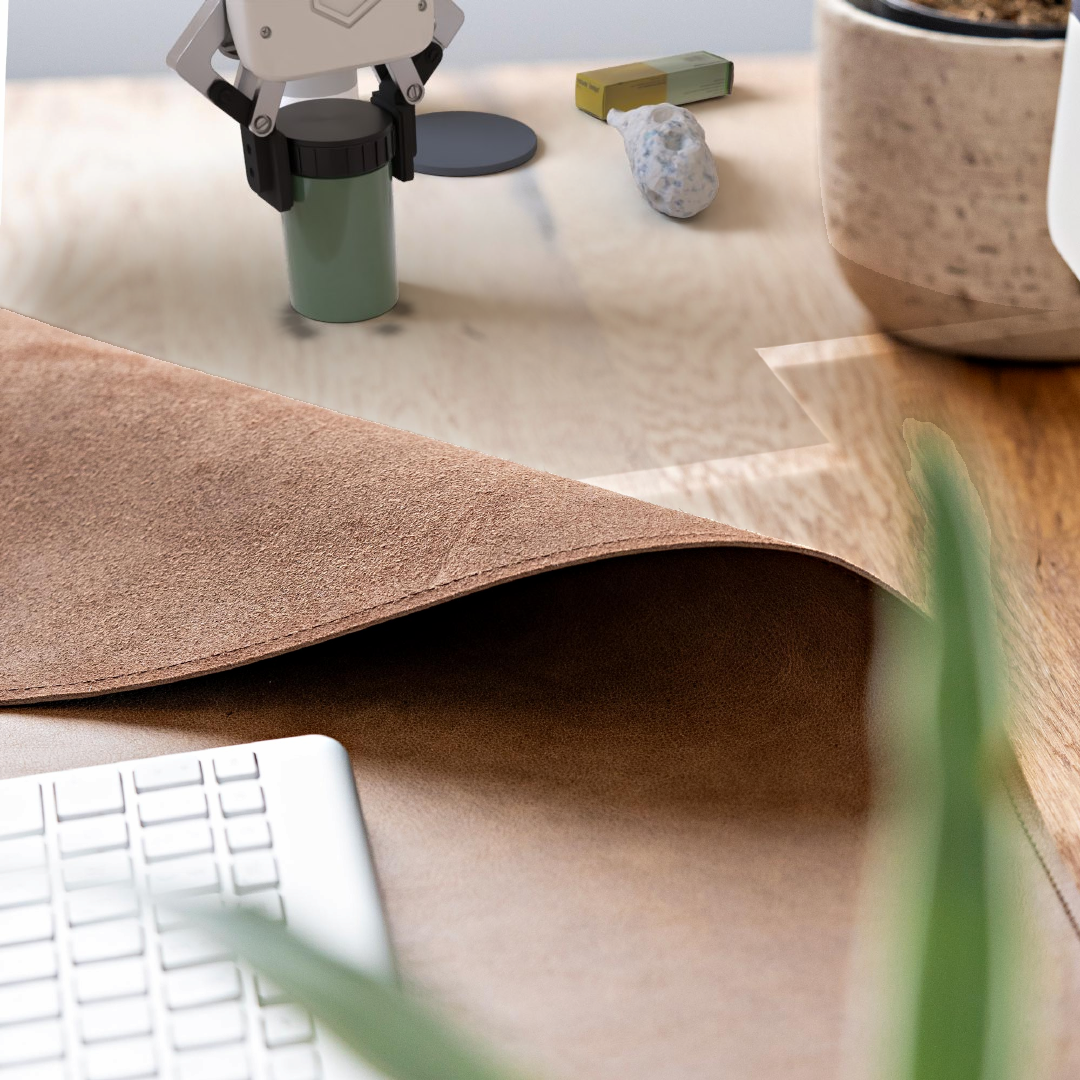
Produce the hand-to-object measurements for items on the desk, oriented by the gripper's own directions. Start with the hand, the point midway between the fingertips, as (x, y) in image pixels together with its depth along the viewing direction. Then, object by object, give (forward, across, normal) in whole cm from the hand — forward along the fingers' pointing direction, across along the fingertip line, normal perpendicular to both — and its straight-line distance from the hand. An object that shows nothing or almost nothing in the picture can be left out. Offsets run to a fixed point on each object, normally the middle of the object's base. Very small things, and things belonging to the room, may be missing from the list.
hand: (335, 184), depth 67 cm
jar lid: (-3, 0, 0) cm, 3 cm away
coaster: (+7, +18, +16) cm, 25 cm away
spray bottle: (+7, +12, +28) cm, 31 cm away
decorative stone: (+7, +25, +2) cm, 26 cm away
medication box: (+5, +35, +13) cm, 37 cm away
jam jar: (+7, 0, 0) cm, 7 cm away
